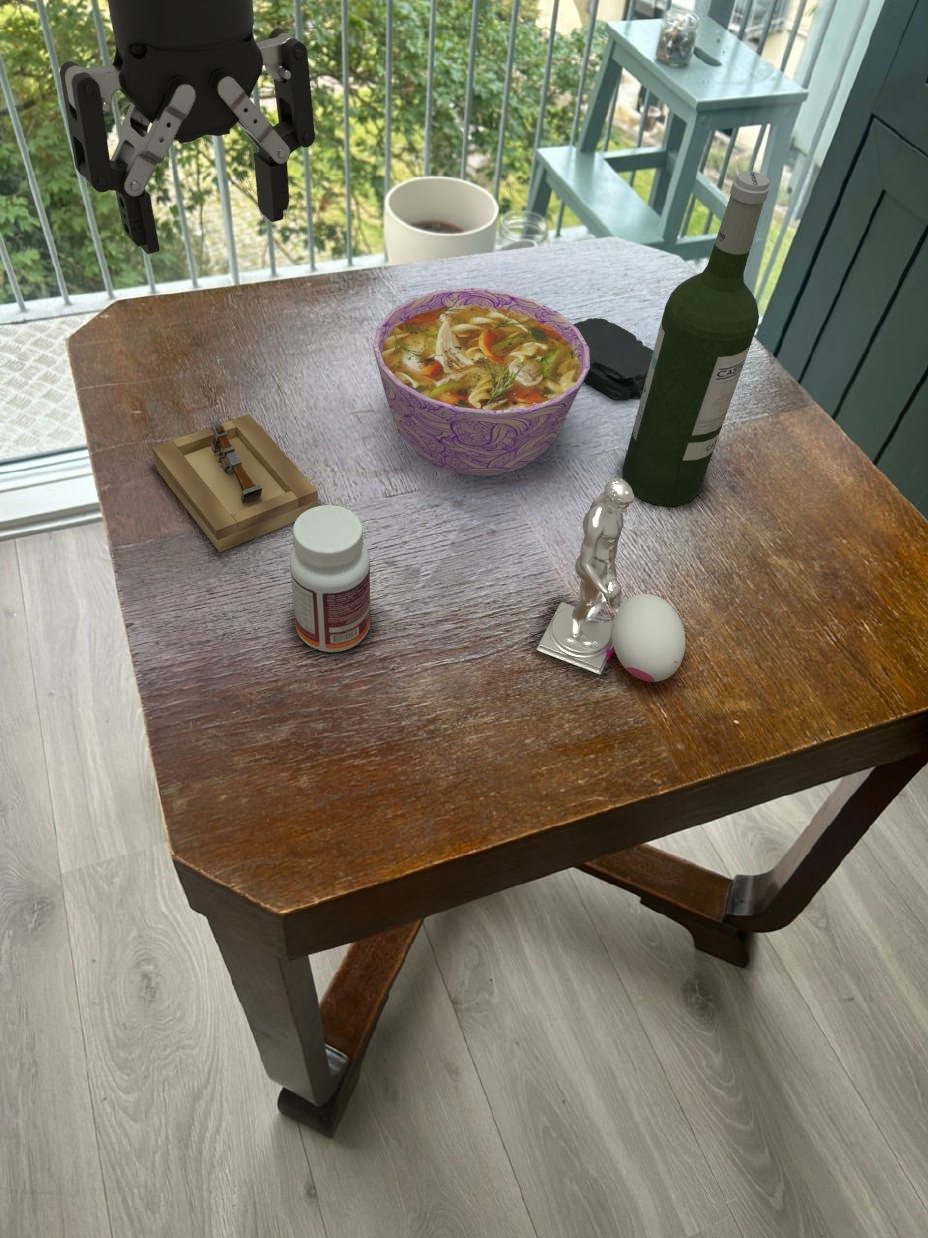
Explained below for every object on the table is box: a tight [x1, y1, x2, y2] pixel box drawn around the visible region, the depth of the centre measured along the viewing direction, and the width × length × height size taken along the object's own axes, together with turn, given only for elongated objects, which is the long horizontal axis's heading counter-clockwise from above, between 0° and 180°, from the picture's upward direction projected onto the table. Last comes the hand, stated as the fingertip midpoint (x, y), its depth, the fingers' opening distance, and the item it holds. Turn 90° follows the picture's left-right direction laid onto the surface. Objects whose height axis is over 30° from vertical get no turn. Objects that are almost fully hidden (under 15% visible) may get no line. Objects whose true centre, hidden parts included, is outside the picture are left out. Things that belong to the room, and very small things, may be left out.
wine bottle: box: [621, 170, 770, 507], centre depth 83 cm, size 8×8×30 cm
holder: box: [151, 413, 319, 553], centre depth 88 cm, size 10×13×3 cm
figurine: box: [535, 477, 636, 676], centre depth 73 cm, size 8×7×18 cm
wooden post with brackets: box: [210, 418, 262, 503], centre depth 87 cm, size 2×8×4 cm, turn 34°
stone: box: [572, 317, 654, 401], centre depth 105 cm, size 8×12×3 cm
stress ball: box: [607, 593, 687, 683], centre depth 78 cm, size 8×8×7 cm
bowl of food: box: [372, 287, 590, 477], centre depth 92 cm, size 20×20×12 cm
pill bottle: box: [289, 504, 371, 653], centre depth 75 cm, size 6×6×11 cm
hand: (210, 231), depth 61 cm, fingers open, 8 cm apart
